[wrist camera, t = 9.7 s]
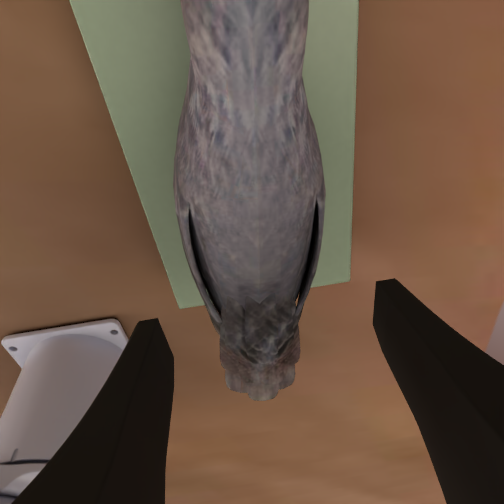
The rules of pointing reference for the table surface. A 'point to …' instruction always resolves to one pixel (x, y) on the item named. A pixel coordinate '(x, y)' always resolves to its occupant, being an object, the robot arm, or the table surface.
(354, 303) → the table surface
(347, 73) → the shelf
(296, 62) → the bird
